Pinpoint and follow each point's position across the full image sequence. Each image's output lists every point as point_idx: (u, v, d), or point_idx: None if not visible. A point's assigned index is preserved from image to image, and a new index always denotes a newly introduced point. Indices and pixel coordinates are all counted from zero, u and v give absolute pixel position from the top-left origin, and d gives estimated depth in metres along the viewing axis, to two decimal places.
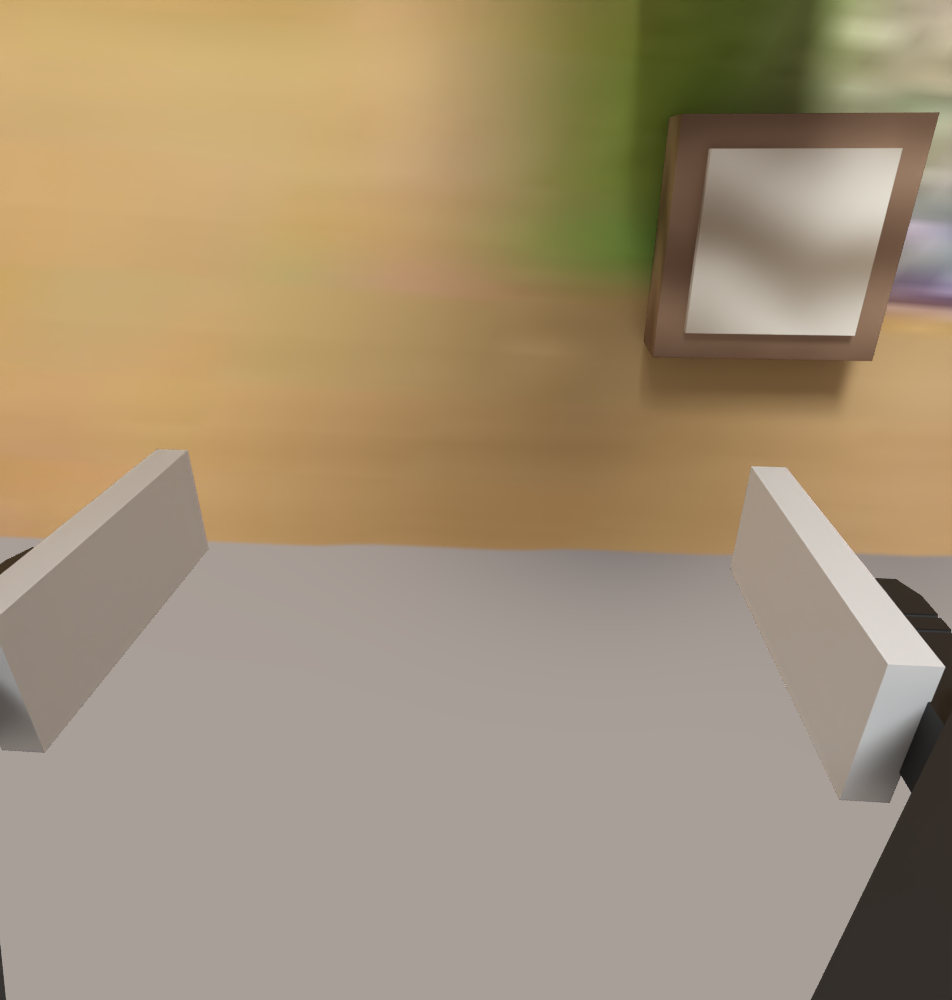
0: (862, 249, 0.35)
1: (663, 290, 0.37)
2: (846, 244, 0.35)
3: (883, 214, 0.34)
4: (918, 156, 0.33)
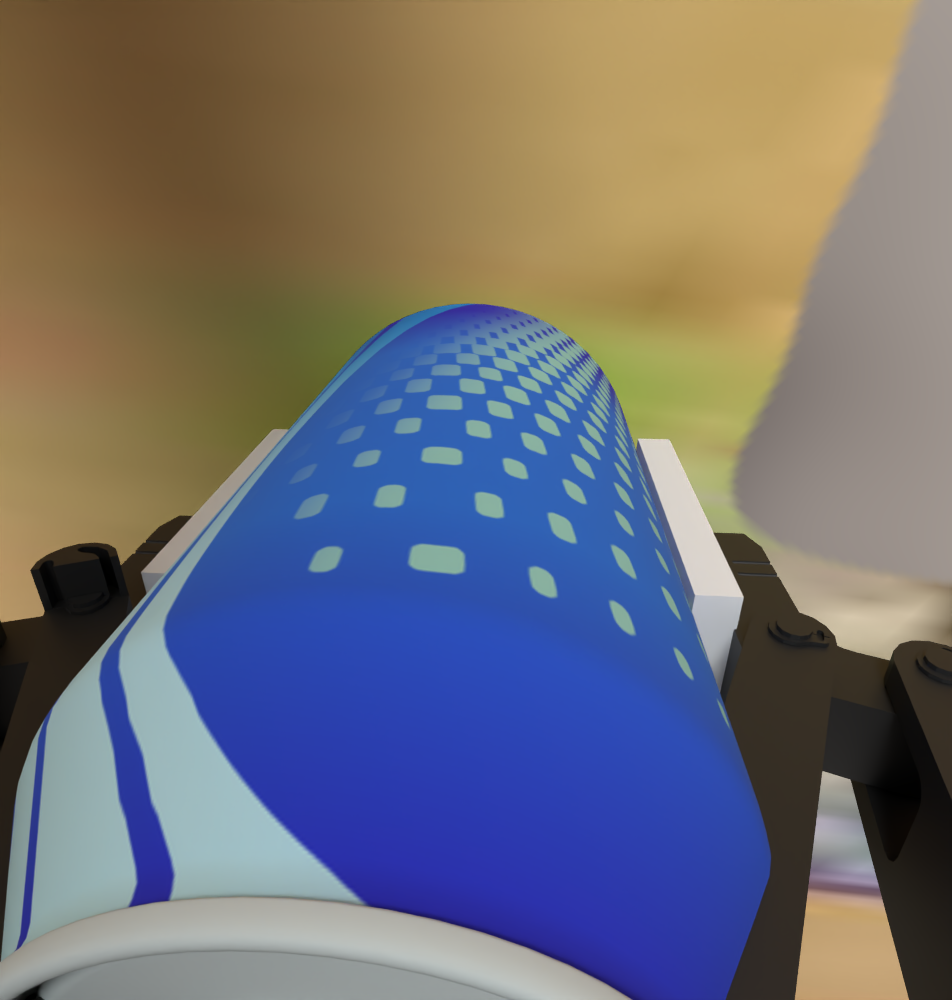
0: None
1: None
2: None
3: None
4: None
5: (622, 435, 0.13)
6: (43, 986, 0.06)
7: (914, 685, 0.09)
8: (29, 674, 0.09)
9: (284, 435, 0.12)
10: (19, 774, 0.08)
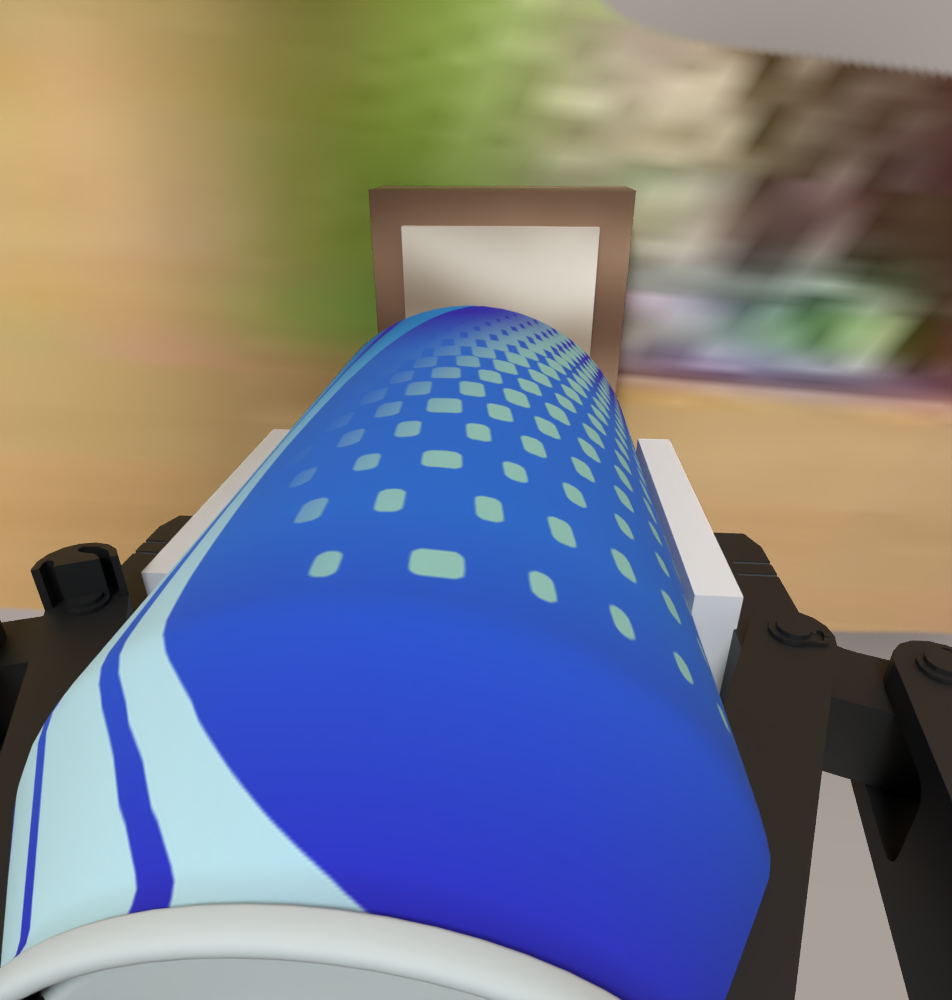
0: (576, 330, 0.33)
1: None
2: (559, 325, 0.33)
3: (592, 295, 0.32)
4: (622, 235, 0.31)
5: (622, 437, 0.13)
6: (43, 991, 0.06)
7: (914, 685, 0.09)
8: (29, 674, 0.09)
9: (284, 438, 0.12)
10: (19, 774, 0.08)
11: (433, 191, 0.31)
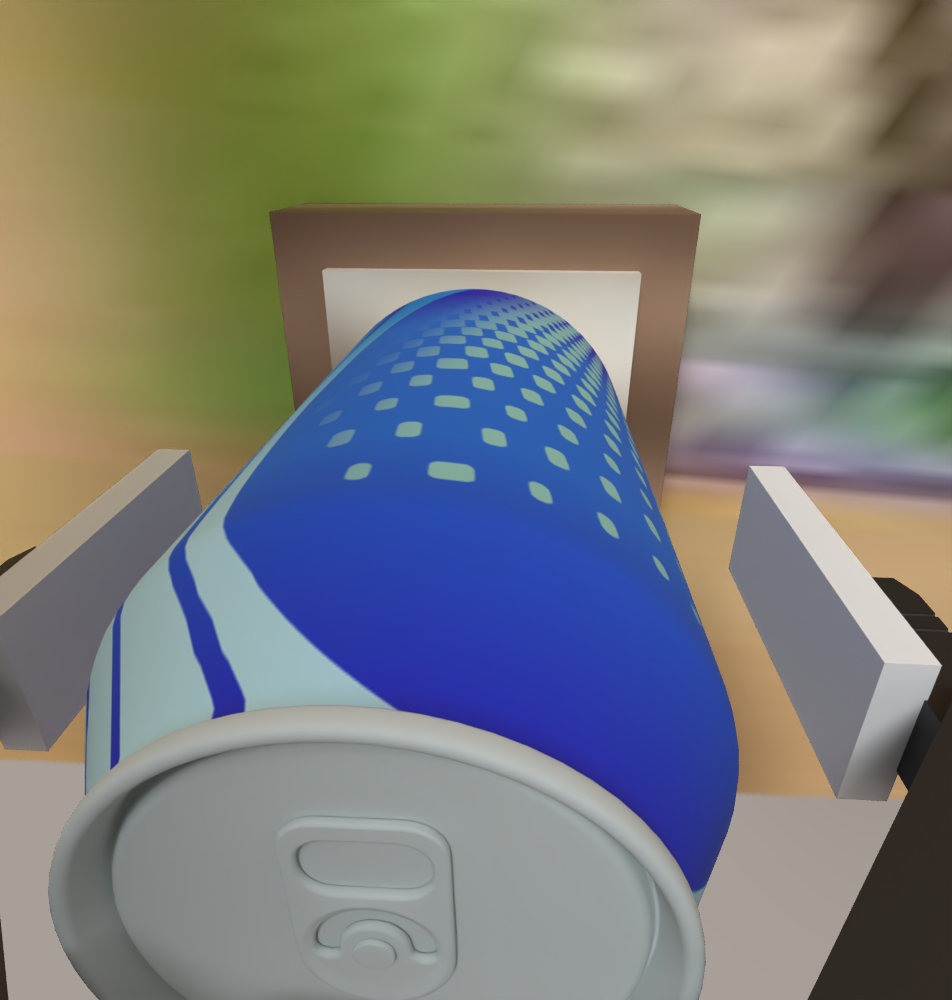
0: None
1: None
2: None
3: (626, 377, 0.20)
4: (676, 284, 0.19)
5: (613, 403, 0.15)
6: (128, 812, 0.07)
7: None
8: None
9: (305, 400, 0.13)
10: None
11: (372, 214, 0.19)
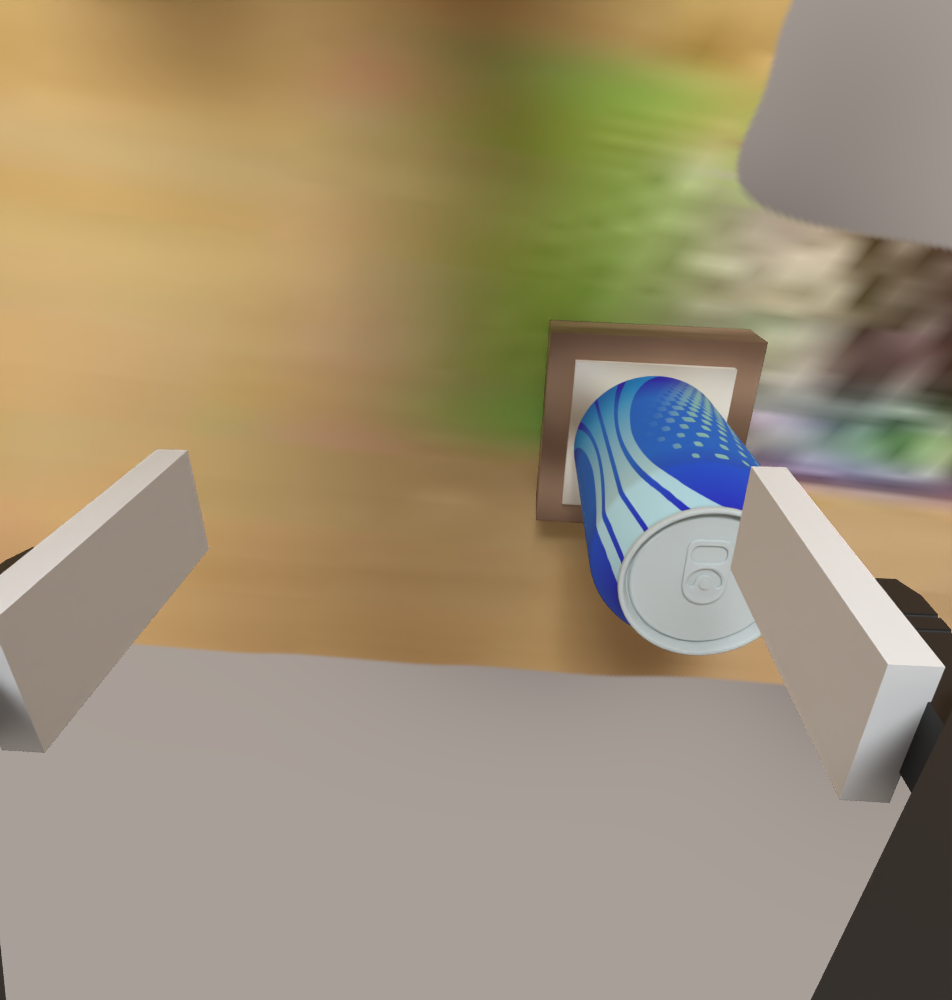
0: None
1: (542, 467, 0.42)
2: None
3: (725, 419, 0.39)
4: (753, 374, 0.39)
5: None
6: (646, 541, 0.26)
7: None
8: None
9: (614, 430, 0.32)
10: None
11: (604, 335, 0.38)
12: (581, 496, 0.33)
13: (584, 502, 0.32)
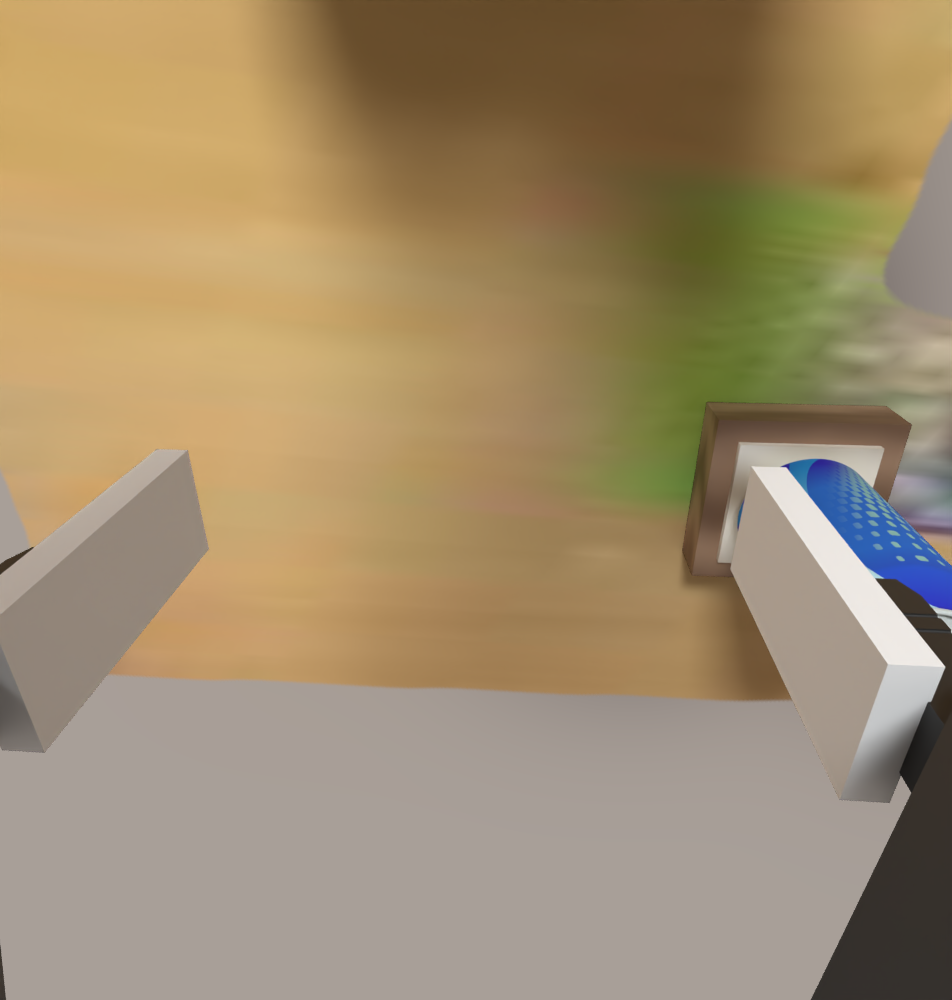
0: None
1: (701, 532, 0.48)
2: None
3: None
4: (896, 451, 0.44)
5: None
6: None
7: None
8: None
9: None
10: None
11: (765, 421, 0.44)
12: None
13: None
